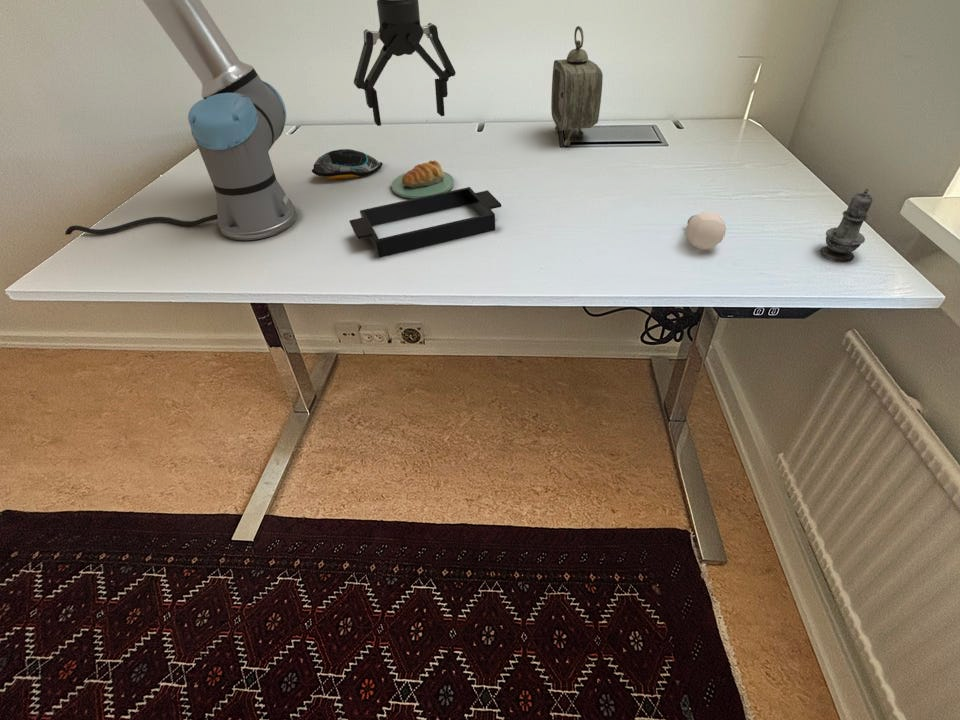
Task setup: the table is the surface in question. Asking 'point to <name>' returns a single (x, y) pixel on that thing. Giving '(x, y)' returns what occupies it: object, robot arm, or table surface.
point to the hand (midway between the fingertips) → (409, 119)
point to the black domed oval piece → (345, 164)
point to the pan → (430, 235)
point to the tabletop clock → (576, 91)
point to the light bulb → (705, 230)
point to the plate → (422, 191)
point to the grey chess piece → (848, 230)
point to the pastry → (424, 175)
